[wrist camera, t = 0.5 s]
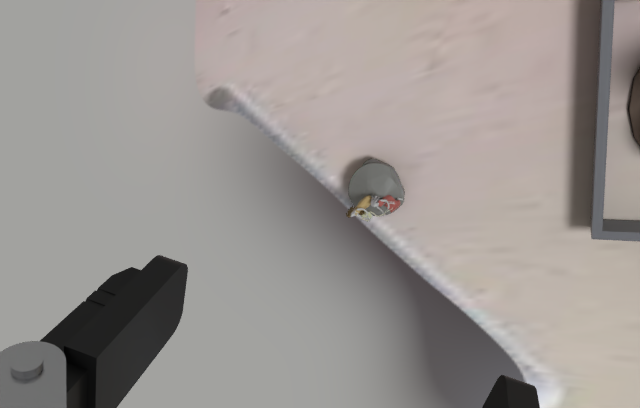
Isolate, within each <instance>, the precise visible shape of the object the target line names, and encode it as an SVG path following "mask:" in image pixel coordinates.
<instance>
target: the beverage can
mask: <svg viewBox="0 0 640 408" xmlns="http://www.w3.org/2000/svg"><path fill="white" fill-rule="evenodd" d="M628 110H629V115H630V121H631V126H632V131H633V136H634V138H635V139H636V141H637V143H638V144H639V146H640V67H639V69H638V71H637V73H636V75H635V77H634V79H633V84H632V89H631V95H630V101H629V107H628Z"/></svg>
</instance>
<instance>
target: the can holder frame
mask: <svg viewBox="0 0 640 408" xmlns="http://www.w3.org/2000/svg"><path fill="white" fill-rule="evenodd" d="M614 1H615V0H601V8H600V30H599V52H598V74H597V96H596V118H595V140H594V162H593V184H592V206H591V237H592V239H601V240H622V241H640V221H634V220H604V219H603V208H604V189H605V171H606V152H607V133H608V114H609V95H610V77H611V58H612V39H613V20H614Z"/></svg>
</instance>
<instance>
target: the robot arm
mask: <svg viewBox="0 0 640 408" xmlns="http://www.w3.org/2000/svg"><path fill="white" fill-rule="evenodd" d="M187 272H188V267H187V265H186V264H184V263H181V262H178V261H175V260H172V259H169V258H166V257H163V256H160V255H158V256H156V257H155V258H153V259H152V260H151V261H150V262H149V263H148V264H147V265H146V266H145V267H144V268H143V269H142V270H138V269H135V268H133V267H131V268H128V269H126V270H124V271H122V272H119V273H117V274H114V275H112V276H111V277H110V278H109V279H108V280H107V281H106V282H104V283H103V284H102V285H101V286H100V287H99V288H98V290H97V291H94V292H93V293H92V294H91V295H90V296H89V297H88V298H87V299H86V301H85V302H82V303H81V304H80V305H79V306H78V307H77V308H76V309H75V310H74V311H72V312H71V313H70V314H69V315H68V316H67V317H66V318H65V319H64V320H62V321H61V322H60V323H59V324H58V325H57V326H56V327H55V328H54V329H53V330H52V331H50V332H49V333H48V334H47V335H46V336H45V337H44V338H43V339H41V340H40V341H32V342H23V343H19V344H16V345H13V346H11V347H8V348H6V349H5V350H3V351H2V352H0V408H117V406H118V405H119V404H120V402H121V401H122V400H123V398H124V397H125V396H126V395H127V393H128V392H129V391H130V389H131V388H132V387H133V386H134V384H135V383H136V382H137V380H138V379H139V378H140V376H141V375H142V374H143V373H144V371H145V370H146V369H147V367H148V366H149V365H150V363H151V362H152V361H153V360H154V358H155V357H156V356H157V354H158V353H159V352H160V350H161V349H162V348H163V347H164V345H165V344H166V343H167V341H168V340H169V339H170V337H171V336H172V335H173V333H174V332H175V330H176V328H177V326H178V324H179V322H180V319H181V316H182V311H183V304H184V296H185V289H186V281H187ZM483 408H540V407H539V401H538V395H537V390H536V388H535V386H533V385H530V384H527V383H525V382H522V381H519V380H516V379H513V378H510V377H507V376H504V375H501V376H500V377H499V378H498V379H497V381H496V383H495V385H494V387H493V388H492V390H491V392H490V394H489V396H488V398H487V400H486V401H485V403H484V405H483Z"/></svg>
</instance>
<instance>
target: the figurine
mask: <svg viewBox="0 0 640 408" xmlns="http://www.w3.org/2000/svg"><path fill="white" fill-rule="evenodd" d="M348 192H349V197H350V199H351V202H352V203H353V205H354V206H355V207H356V208H355V207H354V208H353V206H352V207H351V208H350V209H348V210H349V211H348V215H347V213H346V215H347V216H348V217H353V216H358V217H360V219H361V220H362V219H363V220H365V221H370V219H371V218H373V216H377V217H380V216H383V215H388V214H390V213H392V212H394V211H395V210H397V209H398V208H399V207H400V206H401V205H402V204H403V202H404V195H405V192H404V188H403V186H402V185H401V182H400V179H399V176H398V174H397V173H396V171H395V169H394V168H393V167H392V166H390V165H388V164H386V163H381V162H380V161H379V160H377V159H369V160H367V161H366V162H365V163H364V164H363V166H362V167H361V168H359V169H358V170H357V171H356V172H355V173H354V175H353V176H352V178H351V180H350V184H349V189H348ZM354 210H355V211H354ZM362 217H363V218H362ZM364 218H367V219H368V220H366V219H364Z"/></svg>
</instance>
